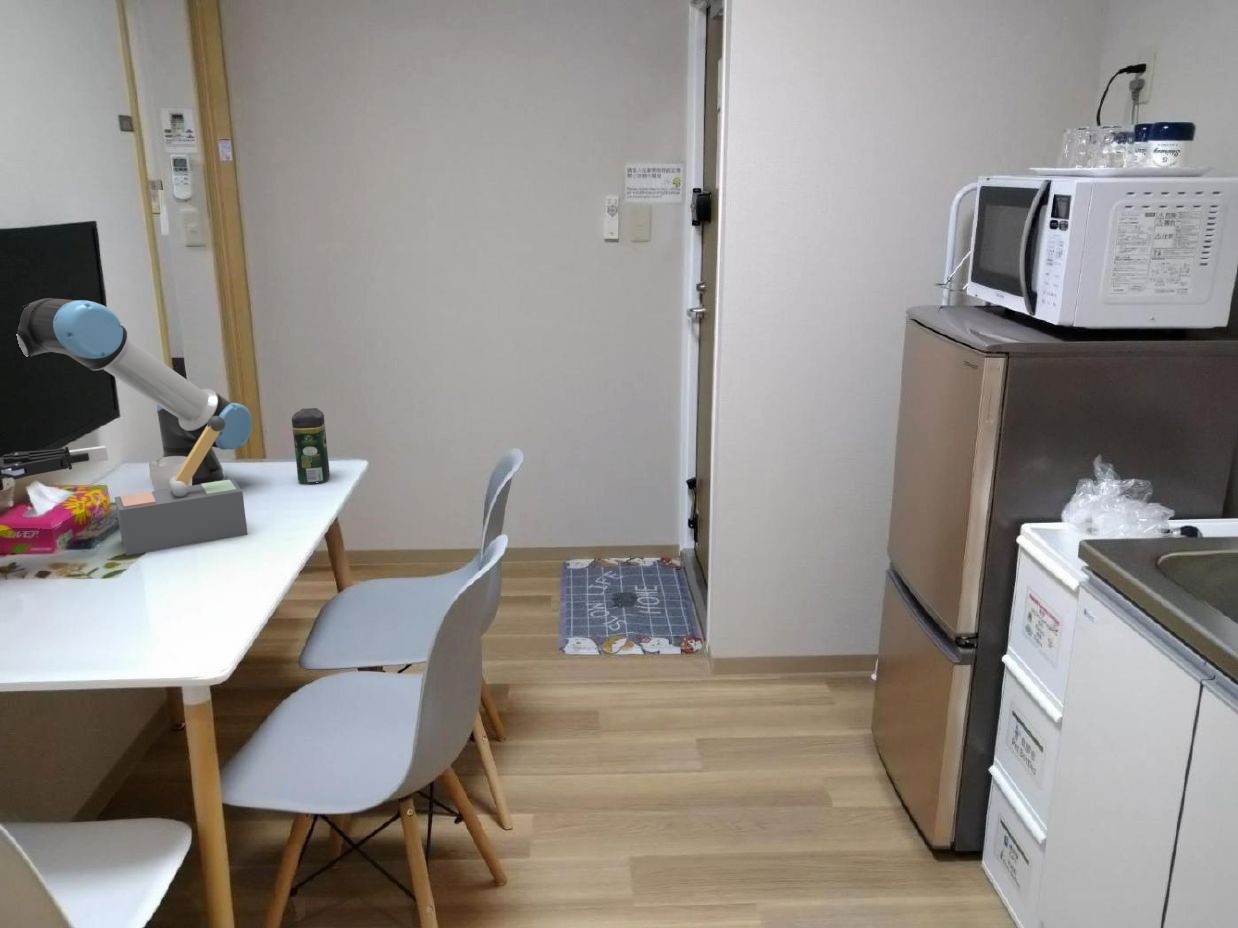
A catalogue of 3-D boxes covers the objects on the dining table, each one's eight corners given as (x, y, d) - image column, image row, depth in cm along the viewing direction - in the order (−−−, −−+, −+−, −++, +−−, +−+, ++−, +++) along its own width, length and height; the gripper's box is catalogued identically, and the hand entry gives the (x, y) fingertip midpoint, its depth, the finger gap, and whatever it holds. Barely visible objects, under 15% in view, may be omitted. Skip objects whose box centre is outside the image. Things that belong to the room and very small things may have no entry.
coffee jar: (300, 474, 251) (293, 406, 246) (331, 473, 252) (325, 405, 247) (295, 485, 242) (288, 415, 237) (327, 484, 243) (321, 413, 238)
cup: (162, 518, 218) (154, 468, 215) (150, 509, 225) (143, 460, 221) (202, 510, 224) (196, 461, 221) (189, 501, 230) (183, 453, 227)
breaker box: (121, 540, 205) (114, 495, 202) (238, 520, 217) (233, 477, 214) (126, 555, 197) (118, 508, 194) (247, 534, 209) (242, 489, 206)
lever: (164, 484, 205) (210, 410, 206) (180, 492, 207) (225, 418, 208) (168, 492, 200) (215, 415, 201) (184, 499, 202) (231, 423, 203)
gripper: (-26, 480, 189) (106, 462, 201) (-28, 498, 179) (112, 478, 191) (-34, 444, 187) (101, 428, 199) (-36, 460, 177) (106, 442, 189)
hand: (106, 452), depth 195 cm, fingers closed
